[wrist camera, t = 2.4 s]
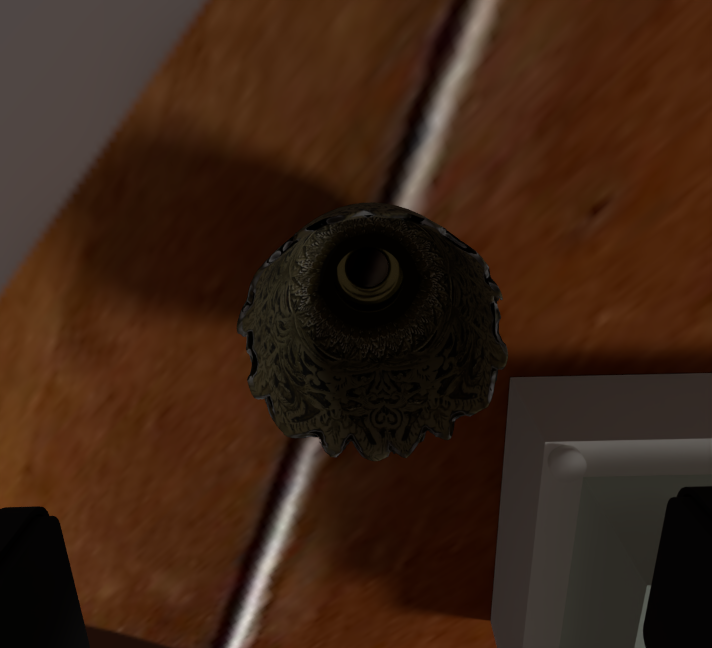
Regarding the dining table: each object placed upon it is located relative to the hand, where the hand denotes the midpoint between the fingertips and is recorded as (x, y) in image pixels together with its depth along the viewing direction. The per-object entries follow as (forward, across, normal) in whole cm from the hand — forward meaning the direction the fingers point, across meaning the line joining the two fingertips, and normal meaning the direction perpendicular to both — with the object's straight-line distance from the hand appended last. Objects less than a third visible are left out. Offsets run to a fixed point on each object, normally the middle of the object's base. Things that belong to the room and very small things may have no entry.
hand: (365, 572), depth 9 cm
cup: (+16, -1, -1) cm, 16 cm away
